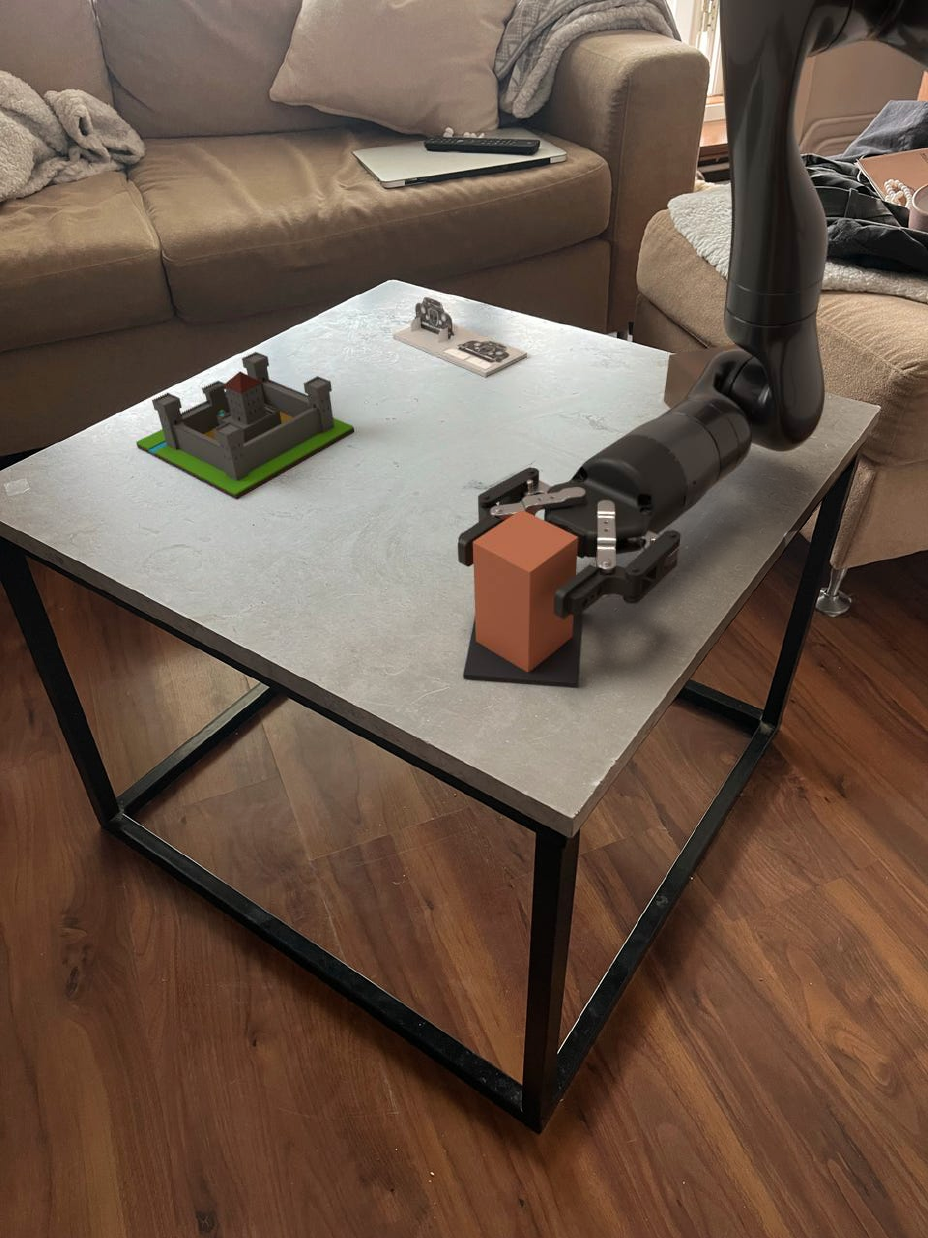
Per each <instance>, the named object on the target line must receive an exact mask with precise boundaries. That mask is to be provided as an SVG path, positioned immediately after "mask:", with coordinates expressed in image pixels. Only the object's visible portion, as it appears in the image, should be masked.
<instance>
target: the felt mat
mask: <svg viewBox="0 0 928 1238" xmlns="http://www.w3.org/2000/svg"><path fill="white" fill-rule="evenodd" d="M583 614H584V611H583V612H582V613H581V614H578V615H575V616H574V617H573V633H572V638H570V639H569V640H568V641H567V642H566V643H564V644H563V645H562V646H561V647H559V648H558V649H557V650H556V651H555V652H553V653H552V654H551V655H550V656H548V657H547V658H546V659H545V660H544V661H542V662H541V663H540V664H539V665H537V666H536V667H535V668H534V669H533V670H531V671H530V672H529V673H528V672H526V671H524V670H523V669H521V668H519V667H518V666H516V665H514V664H513V663H511V662H509V661H508V660H506V659H504V658H503V657H501V656H499V655H498V654H496V653H494V652H493V651H491V650H489V649H488V648H486V647H484V646H483V645H481V644H479V643H478V642H476V626H475V617H474V618H473V623H472V624H473V625H472V628H471V634H470V638H469V644H468V648H467V653H466V657H465V663H464V668H463V673H462V678H463V679H465V680H479V681H480V680H481V681H492V682H505V683H518V684H531V685H542V686H543V685H545V686H555V687H556V686H557V687H570V688H578V686H579V673H580V659H581V658H580V657H581V644H582V639H581V638H582V627H583Z"/></svg>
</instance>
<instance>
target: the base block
mask: <svg viewBox="0 0 928 1238" xmlns="http://www.w3.org/2000/svg"><path fill="white" fill-rule="evenodd" d="M732 349H742V348H740V347H739V346H737V345H736V344H735V343H733V344H728V345H722V346H716V347H709V348H702V349H697V350H690V351H685V352H678V353H671V354H669V355H668V361H667V363H668V364H667V370H666V379H665V387H664V395H663V401H664V403H666V405H667V406H668V407H669V408H670V409H671V408H673V407H674V406H676V405H677V404H679V403H680V402H681V401H682V400H683V399H684V397H685V396H686V395H687V393H688V392H689V391H690V389H691V388H692V387H693V385H694V384H695V383H696V381H697V380H698V378H699V377H700V375H701V373H702V371H703V370H704V368H705V366H706V365H707V364H708V362H709V361H710V360H711V359H712V358H713V357H714V356H715V355H717V354H719V353H721V352H724V351H727V350H732Z"/></svg>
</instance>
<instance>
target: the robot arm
mask: <svg viewBox="0 0 928 1238" xmlns="http://www.w3.org/2000/svg"><path fill="white" fill-rule="evenodd" d="M718 2H719V4H718V8H719V9H718V11H719V13H718V15H719V34H720V35H719V36H720V52H721V53H720V55H721V71H722V84H723V100H724V101H723V102H724V103H723V104H724V117H725V131H726V142H727V143H726V144H727V145H726V146H727V157H728V166H729V167H728V169H729V180H730V198H731V199H730V201H731V225H730V226H731V227H730V228H731V229H730V244H729V246H730V247H729V255H728V265H727V266H728V268H727V277H726V278H727V279H726V288H725V289H726V290H725V298H724V299H725V300H724V301H725V302H724V310H723V327H724V330H725V333H726V335H727V337H728V338H729V340H730V341H731V342H732V343H733V344H736V345H737V346H739V347H740V348H742V349H732V350H727V351H724V352H721V353H719V354H717V355H715V356H714V357H713V358H712V359H711V360H710V361H709V362H708V364H707V365H706V366H705V368H704V370H703V371H702V373H701V375H700V377H699V378H698V380H697V381H696V383H695V384H694V385H693V387H692V388H691V389H690V391H689V392H688V393H687V395H686V396H685V397H684V399H683V400H682V401H681V402H680V403H679V404H677V405H676V406H674V407H673V408H670V409H668V410H666V411H664V412H663V413H661V414H660V415H659V416H658V417H655V418H653V419H651V420H649V421H647V422H645V423H642V424H640V425H638V426H637V427H635V428H634V429H632V430H630V431H629V432H628V433H626V434H625V435H623V436H621V437H620V438H619V439H617V440H615V441H613V442H612V443H610V444H609V445H608V446H606V447H605V448H603V449H602V450H599V452H597V453H596V454H594V455H593V456H591V457H590V458H588V459H587V460H585V461H584V462H583V463H582V464H581V466H580V467H579V469H578V470H576V472H575V474H574V475H573V476H572V477H571V478H570V480H567V481H565V482H561V483H557V484H553V485H550V484H548V483H546V482H544V481H542V480H540V470H539V468H535V467H527V468H526V467H525V468H524V469H522V470H521V471H519V472H517V473H515V474H513V475H512V476H510V477H509V478H507V479H505V480H503V481H500V483H497V484H496V485H495V486H493V487H491V488H489V489H487V490H485V491H484V492H481V493H480V494H478V496H477V511H478V516H477V517H478V522H476V523H475V524H473V525H472V526H471V527H469V528H467V530H464V531H462V532H461V533H460V535H459V536H458V542H457V558H458V559H457V560H458V562H459V564H462V565H463V566H465V567H467V568H468V567H471V566H473V565H474V562H473V542H474V541H475V540H477V539H478V538H480V537H481V536H483V535H484V534H486V533H487V532H489V531H490V530H492V529H493V528H495V527H496V526H498V525H499V524H501V523H502V522H504V521H505V520H507V519H508V518H510V517H511V516H513V515H514V514H516V513H517V512H519V511H520V510H523V511H525V512H527V513H529V514H532V515H534V516H536V514H537V513H538V512H539V511H543V510H544V513H543V520H544V521H546V522H548V523H550V524H552V525H554V526H556V527H558V528H561V529H563V530H565V531H567V532H569V533H571V534H573V535H575V536H577V537H578V551H577V558H580V559H585V558H593V559H594V565H592V564H588V565H587V566H586V567H584V568H583V569H582V570H581V571H579V572H577V573H576V575H575V576H574V577H573V578H571V579H570V580H569V581H567V582H566V583H565V584H564V585H562V586H561V587H560V588H558V590H557V591H556V593H555V596H554V614H555V615H556V616H558V617H560V618H562V619H566V618H567V617H569V616H570V615H573V616H575V615H578V614H581V613H582V612H583V613H584V612H585V611H587V609H589V608H590V607H591V606H592V605H594V604H595V603H596V602H597V601H598V600H600V599H602V598H609V597H611V596H612V595H617V596H622V600H623V601H624V602H625V603H627V604H630V605H631V604H632V605H634V604H638V603H640V602H641V601H642V600H643V599H644V598H645V597H646V596H647V595H648V594H649V593H650V592H651V591H652V590H654V589H655V587H656V586H658V584H659V583H660V582H661V581H663V580H664V579H665V577H667V576H668V574H669V573H671V571H673V570H674V569H675V568H676V567H677V566H678V559H679V554H680V547H681V538H682V535H681V533H680V532H679V531H678V530H673V529H667V530H666V528H667V527H669V526H670V525H671V524H673V523H674V522H675V521H677V520H678V519H679V518H680V517H681V516H683V515H684V514H685V513H686V512H688V511H690V509H691V508H693V507H694V506H695V505H696V504H697V503H698V502H700V501H701V500H702V499H703V497H704V496H705V495H706V494H707V493H708V491H709V490H711V489H712V488H713V487H714V486H715V485H717V484H719V482H721V481H722V480H724V479H725V478H726V477H727V476H729V475H730V474H731V473H732V472H734V471H735V470H736V469H737V468H738V467H739V466H740V465H741V464H742V463H743V462H744V461H745V460H746V458H747V457H748V455H749V453H750V451H751V448H752V444H754V445H756V446H758V447H760V448H763V449H767V450H770V451H772V452H773V451H774V452H779V453H780V452H781V453H784V452H785V453H786V452H788V451H792V450H795V449H797V448H799V447H801V446H802V445H804V443H806V442H807V441H808V440H809V439H811V436H812V435H813V434H814V433H815V431H816V429H817V427H818V425H819V424H820V422H821V418H822V416H823V412H824V407H825V398H826V385H825V384H826V383H825V374H824V368H823V361H822V356H821V348H820V338H819V330H818V323H817V322H818V321H817V318H818V317H817V315H818V311H819V304H820V299H821V293H822V288H823V281H824V276H825V270H826V265H827V257H828V246H829V245H828V244H829V237H828V235H829V234H828V223H827V218H826V213H825V209H824V206H823V204H822V201H821V199H820V197H819V194H818V191H817V189H816V187H815V184H814V182H813V181H812V178H811V176H810V174H809V172H808V169H807V167H806V164H805V162H804V160H803V157H802V153H801V149H800V146H799V143H798V139H797V131H796V130H797V127H796V111H797V102H798V97H799V90H800V85H801V81H802V76H803V72H804V68H805V64H806V61H807V59H809V58H812V57H816V56H819V55H821V54H826V53H829V52H832V51H833V50H838V49H839V48H842V47H846V46H849V45H852V44H854V43H859V42H871V43H872V42H873V43H876V44H880V45H882V46H884V47H887V48H888V49H890V50H893V51H895V52H896V53H898V54H900V55H902V56H903V57H905V58H906V59H908V61H910V62H912V63H913V64H915V65H916V66H918V67H919V68H920V69H922V70H923V71H925V72H926V73H927V74H928V0H719V1H718ZM664 530H665V531H664ZM661 532H662V533H661ZM660 533H661V534H660ZM642 549H643V550H642ZM640 550H642V551H641V553H640V554H638V556H636V557H635V558H634V559H633V560H632V561H631V562H630V563H629V564H628V565H626V567H624V566H620V565H617V555H622V554H629V553H636V552H638V551H640Z"/></svg>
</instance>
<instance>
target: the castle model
mask: <svg viewBox="0 0 928 1238" xmlns="http://www.w3.org/2000/svg"><path fill="white" fill-rule="evenodd" d="M241 362H242V367H243V369H246V373H247V374H246V373H244V372H242V371H238V372H237V373H236V374H235V375H233V376H232V377H231V378H230V379H229V380H227V381H226V382H222V381H220V380H215V381H213V382H212V383H209V384H207V385H205V386H204V387H201V391H202V394H203V395H205V400H204V401H202V402H201V403H199V404H196V405H195V406H192V407H190V408H188V409H185V410H184V411H181V409H182V408H183V406H182V403H181V399H180V397H178V396H176V395H174V394H172V393H170V392H166V393H164V394H162V395H159V396H157V397H155V398H153V399H151V402H152V406H153V409H154V411H156V412H157V414H158V418H159V422H160V425H161V428H162V429H159V430H157V431H155V432H153V433H152V434H150V435H147V436H144V437H143V438H141V439H139V440H137V441H135V443H136V447H137V448H138V449H140V450H142V451H144V452H145V453H148V454H149V455H152V456H153V457H155V458H157V459H159V460H161V461H163V462H165V463H167V464H169V465H170V466H172V467H174V468H176V469H178V470H180V471H182V472H184V473H186V474H188V475H190V476H191V477H193V478H195V479H197V480H199V481H201V482H202V483H204V484H206V485H208V486H210V487H212V488H214V489H216V490H218V491H220V492H222V493H224V494H225V495H228V496H230V497H231V498H232V499H235V500H238V499H239V498H241V497H243V496H244V495H246V494H248V493H250V492H251V491H253V490H255V489H257V488H258V487H260V486H262V485H264V484H265V483H267V482H269V481H271V480H272V479H274V478H276V477H278V476H279V475H281V474H283V473H284V472H286V471H289V470H290V469H291V468H294V467H295V466H297V465H299V464H300V463H302V462H304V461H305V460H307V459H309V458H311V457H313V456H314V455H316V454H318V453H319V452H322V451H323V450H325V449H327V448H329V447H330V446H332V445H333V444H335V443H337V442H339V441H341V440H342V439H344V438H346V437H347V436H349V435H351V434H352V433H354V432H355V427H354V425H352V424H349V423H347V422H344V421H342V420H339V419H338V418H335V417H334V415H333V408H332V402H331V401H332V399H331V392H332V391H333V390H332V382H331V380H328V379H326V378H323V377H321V376H319V375H318V376H315V377H313V378H311V379H309V380H307V381H305V382H303V389H304V393H303V392H301V391H298V390H296V389H293V388H291V387H288V386H287V385H284V384H282V383H279V382H277V381H274V380H272V379H270V377H269V371H268V367H269V366H270V362H269V356H268V355H264V354H262V353H259V352H257V351H254V352H253V353H250V354H247V355H245V356H244V357H241Z"/></svg>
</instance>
